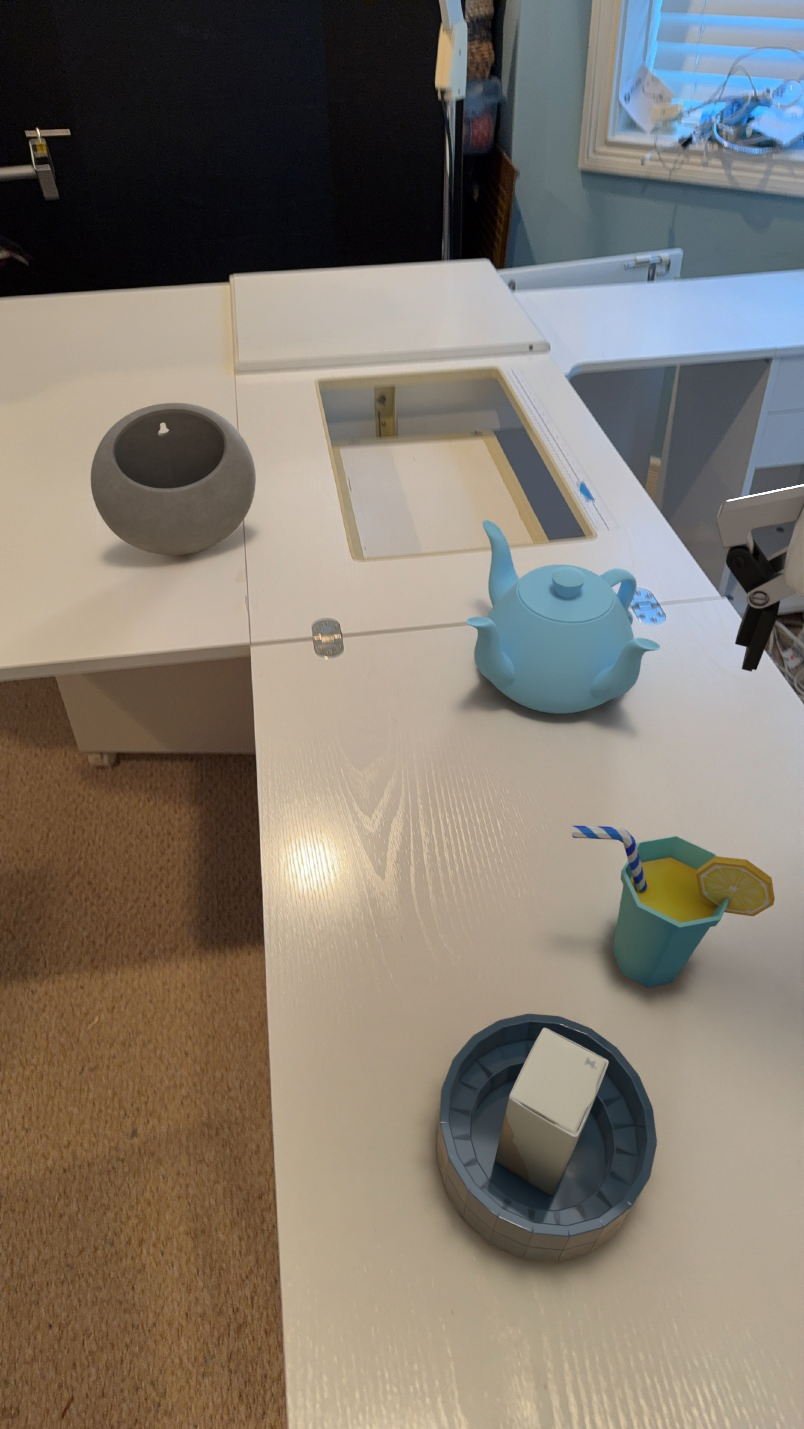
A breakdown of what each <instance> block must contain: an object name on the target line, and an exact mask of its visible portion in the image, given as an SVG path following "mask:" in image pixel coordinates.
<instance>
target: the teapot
mask: <svg viewBox="0 0 804 1429" xmlns="http://www.w3.org/2000/svg"><path fill="white" fill-rule="evenodd" d="M482 527H483V529H484V531H485V533H486V535H487V538H488V541H489V543H490V549H491V550H490V551H491V559H490V567H489V574H488V587H487V588H488V589H487V590H488V596H489V600H490V603H491V605H492V608H491V610H490V611H489V613H488V614H487V616H486V617H485V616H473V617H470V618H467V619H466V621H465V623H466V624H467V625H469V626H470V627H473V628H474V629H476V630H477V637H476V642H475V645H474V646H475V647H474V651H473V658H474V662H475V665H476V668H477V670H478V671H479V673H481V674H482V675H483V676H484V677H485V678H486V679H487V680H489V681H490V683H491V684H492V685H494V687H495V688H496V689H498V691H500V692H501V693H502V694H503V695H504V696H506V697H507V698H509V699H510V700H511V701H513V702H515V703H517V704H519V705H520V706H522V707H525V708H527V709H529V710H533V711H536V712H540V713H545V714H554V715H555V714H556V715H565V714H576V713H579V712H584V711H588V710H590V709H594V708H596V707H598V706H601V705H602V704H605V703H607V702H609V701H610V700H612V699H615V698H618V697H620V696H623V695H624V694H626V693H628V692H629V691H630V690H631V689H632V688H634V686H635V685H636V683H637V681H638V679H639V676H640V674H641V673H640V672H641V666H642V665H641V664H642V660H643V656H644V655H645V653H647V652H650V651H651V652H652V651H653V652H654V651H658V650H659V649H660V648H661V646H660V644H659V643H657V642H656V641H654V640H651V639H649V638H645V637H636V638H635V636H634V631H633V627H632V625H633V621H634V617H633V613H632V612H631V611H630V609H629V608H630V606H631V603H632V602H633V600H634V597H635V594H636V591H637V585H638V584H637V579H636V578H635V576H634V574H632V573H631V572H630V571H629V570H628V569H625V568H621V567H615V568H611V569H608V570H606V571H605V572H603V573H602V574H597V573H595V572H593V571H591V570H589V569H587V568H584V567H580V566H576V565H571V564H549V565H543V566H539V567H537V568H534V569H532V570H530V571H528V572H527V573H525V574H524V575H523V576H521V577H519V575H518V574H517V570H516V569H515V565H514V561H513V557H512V552H511V549H510V545H509V542H508V540H507V537H506V535H505V533H504V532H503V530H502V529H501V528H500V527H499V526H498V525H497V524H496V523H494V522H493V521H491V520H489V519H486V520H483V521H482ZM618 584H620V585H619V588H618V590H617V593H616V591H615V590H614V588H613V587H615V586H616V585H618Z"/></svg>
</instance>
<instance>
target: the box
mask: <svg viewBox="0 0 804 1429" xmlns="http://www.w3.org/2000/svg"><path fill="white" fill-rule="evenodd" d="M608 1063H609V1062H608V1060H607V1059H605V1058H603V1057H601V1056H599V1055H597V1054H595V1053H594V1052H592V1051H590V1050H588V1049H586V1048H584V1047H582V1046H581V1045H579V1044H577V1043H575V1042H573V1041H571V1040H569V1039H567V1038H565V1037H563V1036H561V1035H559V1034H557V1033H555V1032H553V1031H551V1030H549V1029H547V1028H543V1029H542V1031H541V1033H540V1034H539V1036H538V1038H537V1040H536V1042H535V1044H534V1046H533V1047H532V1049H531V1051H530V1053H529V1055H528V1057H527V1059H526V1061H525V1063H524V1065H523V1067H522V1069H521V1072H520V1074H519V1076H518V1078H517V1080H516V1082H515V1084H514V1087H513V1089H512V1091H511V1093H510V1095H509V1100H508V1104H507V1109H506V1113H505V1117H504V1121H503V1126H502V1130H501V1134H500V1138H499V1143H498V1147H497V1152H496V1156H495V1161H496V1162H497V1163H499V1164H500V1165H502V1166H503V1167H505V1168H506V1169H508V1170H509V1171H511V1172H513V1173H514V1174H516V1175H517V1176H519V1177H520V1178H522V1179H524V1180H525V1181H527V1182H528V1183H530V1184H532V1185H533V1186H535V1187H537V1188H539V1189H540V1190H542V1191H544V1192H545V1193H547V1194H549V1195H553V1194H554V1193H555V1191H556V1189H557V1186H558V1184H559V1182H560V1180H561V1178H562V1176H563V1173H564V1171H565V1169H566V1167H567V1164H568V1162H569V1160H570V1158H571V1155H572V1153H573V1151H574V1149H575V1146H576V1144H577V1141H578V1139H579V1137H580V1134H581V1132H582V1129H583V1127H584V1125H585V1122H586V1120H587V1118H588V1115H589V1113H590V1110H591V1108H592V1105H593V1103H594V1100H595V1098H596V1095H597V1093H598V1090H599V1088H600V1085H601V1082H602V1080H603V1077H604V1074H605V1072H606V1069H607V1067H608Z"/></svg>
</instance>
